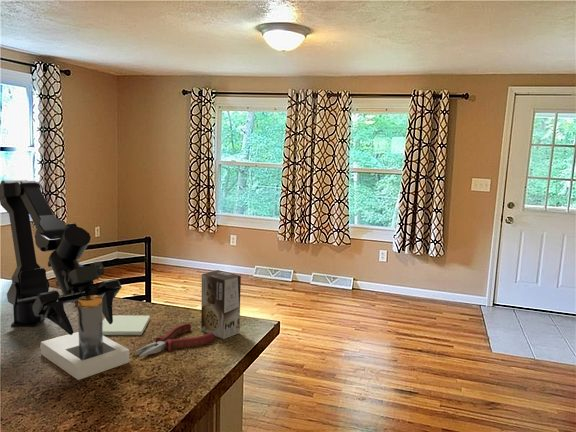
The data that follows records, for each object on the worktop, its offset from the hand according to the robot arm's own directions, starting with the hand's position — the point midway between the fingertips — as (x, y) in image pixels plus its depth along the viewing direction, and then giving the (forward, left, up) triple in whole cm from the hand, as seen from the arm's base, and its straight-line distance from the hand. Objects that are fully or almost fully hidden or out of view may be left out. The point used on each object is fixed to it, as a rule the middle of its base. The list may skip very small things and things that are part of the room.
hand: (92, 328), depth 106 cm
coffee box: (+28, +19, -8) cm, 35 cm away
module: (0, +1, -8) cm, 8 cm away
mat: (+2, +23, -8) cm, 24 cm away
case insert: (-3, +3, -8) cm, 9 cm away
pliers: (+16, +12, -9) cm, 22 cm away
